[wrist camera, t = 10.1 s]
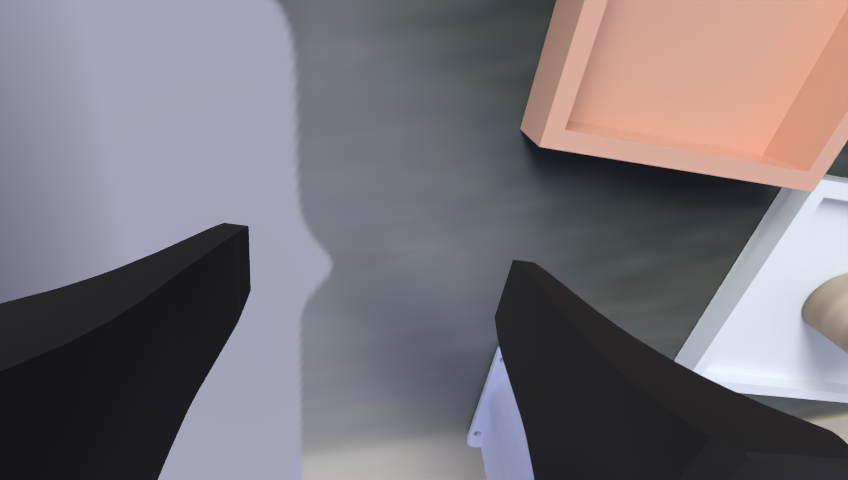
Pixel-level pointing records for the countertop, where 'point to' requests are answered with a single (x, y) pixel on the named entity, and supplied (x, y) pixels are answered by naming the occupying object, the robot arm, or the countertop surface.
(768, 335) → the white tray
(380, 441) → the countertop surface
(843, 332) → the birch peg
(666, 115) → the pink square tray
